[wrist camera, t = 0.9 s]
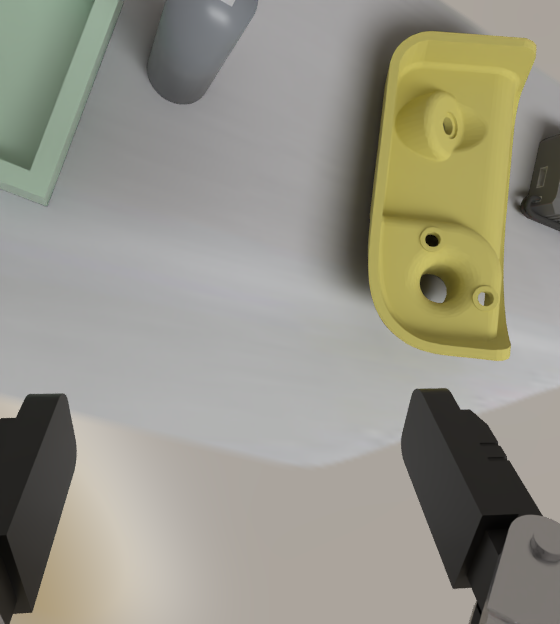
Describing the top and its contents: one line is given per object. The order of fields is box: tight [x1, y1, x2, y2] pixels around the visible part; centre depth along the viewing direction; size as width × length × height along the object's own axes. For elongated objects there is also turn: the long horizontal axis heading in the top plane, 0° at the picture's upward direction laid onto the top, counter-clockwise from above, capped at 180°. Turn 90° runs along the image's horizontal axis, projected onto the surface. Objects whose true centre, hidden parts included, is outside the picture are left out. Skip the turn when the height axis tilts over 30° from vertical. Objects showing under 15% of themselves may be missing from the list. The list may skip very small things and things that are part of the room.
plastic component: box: [368, 31, 536, 361], centre depth 35 cm, size 20×7×10 cm
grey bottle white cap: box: [147, 0, 258, 104], centre depth 25 cm, size 4×4×11 cm
